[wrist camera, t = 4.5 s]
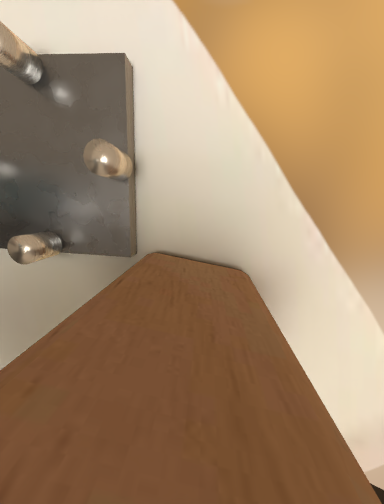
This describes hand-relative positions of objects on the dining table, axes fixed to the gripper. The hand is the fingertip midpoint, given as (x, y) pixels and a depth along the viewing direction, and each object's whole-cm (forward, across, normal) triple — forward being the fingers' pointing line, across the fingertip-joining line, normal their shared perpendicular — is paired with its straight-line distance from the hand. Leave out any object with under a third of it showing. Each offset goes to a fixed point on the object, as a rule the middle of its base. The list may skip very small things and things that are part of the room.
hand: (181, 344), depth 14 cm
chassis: (+7, -14, +13) cm, 20 cm away
